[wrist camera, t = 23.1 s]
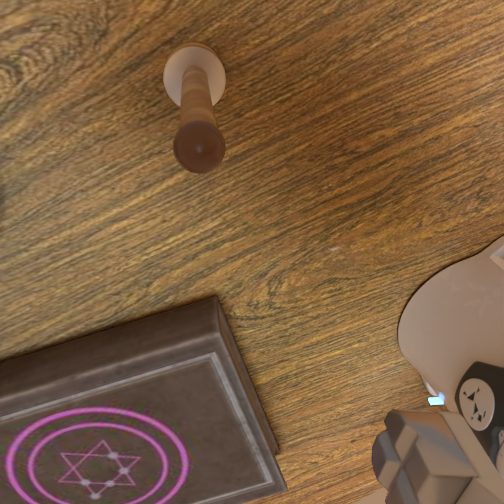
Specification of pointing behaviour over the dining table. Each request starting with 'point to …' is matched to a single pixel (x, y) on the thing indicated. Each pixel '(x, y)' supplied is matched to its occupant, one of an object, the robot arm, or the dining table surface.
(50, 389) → the book
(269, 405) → the dining table surface
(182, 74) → the wooden peg stand
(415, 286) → the dining table surface
